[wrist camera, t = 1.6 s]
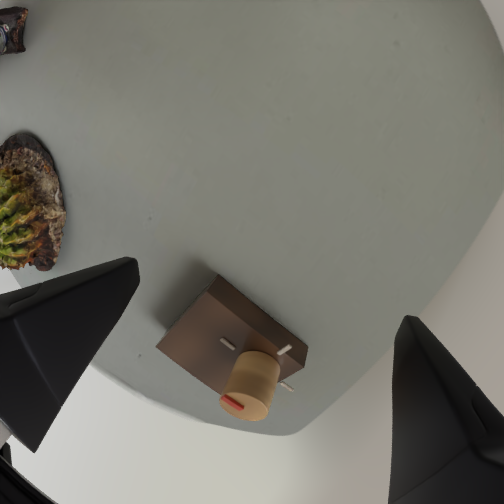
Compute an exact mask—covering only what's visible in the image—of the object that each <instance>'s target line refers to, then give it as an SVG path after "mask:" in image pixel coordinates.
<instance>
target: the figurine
mask: <svg viewBox="0 0 504 504" xmlns="http://www.w3.org/2000/svg"><path fill="white" fill-rule="evenodd" d="M27 14H28V10H27V9H26V8H22V7H11V8H4V9H0V55H4V54H14V53H16V54H18V53H21V52H24V51H25V49H26V48H24V46H23V42H22V31H23V25H24V22H25V19H26V16H27Z"/></svg>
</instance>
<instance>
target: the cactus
mask: <svg viewBox="0 0 504 504" xmlns="http://www.w3.org/2000/svg"><path fill="white" fill-rule="evenodd" d="M53 166H54V163H53V161H52V159H51V157H50V155H49V153H47V152H46V151H45V150H44V149H43V148H42V146H41V145H40V144H39V142H38V141H36V140H35V139H34V138H33V137H31V136H28V135H25V134H16V135H14V136H11V137H10V138H9V139H7V140H6V141H5V143H4V144H3V145H2V146H0V266H1V267H2V269H4V268H5V267H7V268H8V269H10V270H12V269H17V270H19V268H20V267H23V268H24V266H25V264H26V263H29V266H32V265H35V266H36V268H37V269H38V270H39V271H48V270H50V269H51V268H52V267H53V266H54V265H55V263H56V261H57V257H58V254H59V250H60V244H61V238H62V236H63V235H64V234H63V232H62V230H61V229H62V228H63V227H64V223H65V220H66V217H65V216H66V211H65V209H64V207H63V201H62V192H61V189H60V187H59V181H58V176H57V175H56V173H55V171H54V169H53Z"/></svg>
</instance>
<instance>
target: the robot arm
mask: <svg viewBox="0 0 504 504" xmlns="http://www.w3.org/2000/svg"><path fill="white" fill-rule="evenodd" d="M139 283H140V275H139V268H138V262H137V260H136V259H135V258H131V257H123V258H119V259H116V260H112V261H109V262H106V263H102V264H99V265H96V266H92V267H89V268H86V269H83V270H79V271H76V272H73V273H70V274H67V275H63V276H60V277H57V278H54V279H51V280H48V281H44V282H43V283H38V284H35V285H32V286H28V287H25V288H22V289H18V290H15V291H11V292H8V293H4V294H0V504H58V503H56V502H55V501H53V500H52V499H51V498H49V497H48V496H47V495H46V494H44V493H43V492H42V491H40V490H39V489H38V488H37V487H35V486H34V485H33V484H32V483H31V482H29V481H28V480H27V479H26V478H25V477H24V476H22V475H21V474H20V473H19V472H18V471H17V470H16V469H15V468H13V467H12V461H11V451H10V445H9V444H8V443H7V442H6V440H8V438H9V437H10V436H11V434H12V435H13V436H14V437H15V438H17V439H18V440H19V441H20V442H21V443H22V444H23V445H25V446H26V447H27V448H28V449H29V450H30V451H32V452H33V453H35V452H36V451H37V449H38V447H39V445H40V444H41V442H42V440H43V438H44V436H45V435H46V433H47V431H48V430H49V428H50V426H51V424H52V423H53V421H54V419H55V418H56V416H57V414H58V413H59V411H60V409H61V406H63V404H64V402H65V401H66V399H67V398H68V396H69V394H70V393H71V391H72V389H73V388H74V386H75V385H76V383H77V382H78V380H79V379H80V377H81V375H82V374H83V372H84V371H85V369H86V367H87V366H88V365H89V363H90V362H91V360H92V359H93V357H94V355H95V354H96V352H97V351H98V350H99V348H100V347H101V345H102V344H103V342H104V341H105V339H106V338H107V336H108V335H109V333H110V332H111V330H112V329H113V328H114V326H115V325H116V323H117V322H118V320H119V319H120V317H121V316H122V314H123V312H124V310H125V309H126V307H127V305H128V303H129V301H130V300H131V298H132V296H133V294H134V293H135V291H136V289H137V287H138V286H139ZM392 404H393V406H392V409H393V425H392V426H393V427H392V429H393V430H392V458H391V475H390V487H389V498H388V504H504V416H503V415H502V414H501V413H500V412H499V411H498V410H497V409H496V407H495V406H494V405H493V404H492V403H491V402H490V400H489V399H488V398H487V397H486V396H485V394H484V393H483V392H482V391H481V389H480V388H479V387H478V386H476V383H475V382H474V381H473V380H472V378H471V377H470V376H469V375H468V374H467V372H466V371H465V370H464V369H463V368H462V367H461V365H460V364H459V363H458V362H457V361H456V359H455V358H454V357H453V356H452V355H451V354H450V352H449V351H448V350H447V349H446V348H445V347H444V346H443V344H442V343H441V342H440V341H439V340H438V339H437V338H436V337H435V336H434V334H433V333H432V332H431V331H430V330H429V329H428V328H427V327H426V326H425V324H424V323H423V322H422V321H421V320H420V319H419V318H418V317H416V316H410V315H406V316H405V317H404V318H403V320H402V323H401V325H400V327H399V329H398V332H397V334H396V337H395V342H394V361H393V375H392Z"/></svg>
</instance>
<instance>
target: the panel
mask: <svg viewBox="0 0 504 504" xmlns="http://www.w3.org/2000/svg"><path fill="white" fill-rule="evenodd" d="M156 348H158V349H159V350H160V351H161V352H163V353H164V354H165V355H167V356H168V357H169V358H170V359H172V360H173V361H174V362H176V363H177V364H178V365H180V366H181V367H182V368H184V369H185V370H186V371H188V372H189V373H190V374H192V375H193V376H194V377H196V378H197V379H199V380H200V381H201V382H203V383H204V384H206V385H207V386H208V387H210V388H211V389H213V390H214V391H216V392H217V393H219V394H220V395H221V394H222V392H223V390H224V387H225V385H226V383H227V381H228V378H229V376H230V374H231V372H232V370H233V367H234V365H235V363H236V361H237V358H238V357H239V355H241V354H242V353H244V352H247V351H259V352H263V353H265V354H268V355H270V356H271V357H273V358H274V359H275V360H276V361H277V362H278V364H279V366H280V375H279V378H278V382H280V381H281V380H283V379H285V378H287V377H288V376H290V375H292V374H294V373H295V372H297V371H299V370H301V369H302V368H304V366H305V361H306V356H307V351H308V346H306V345H305V344H304V343H303V342H301V341H300V340H299V339H297V338H296V337H295V336H294V335H292V334H291V333H290V332H289V331H287V330H286V329H285V328H284V327H282V326H281V325H280V324H279V323H277V322H276V321H275V320H273V319H272V318H271V317H270V316H268V315H267V314H266V313H265V312H264V311H262V310H261V309H260V308H259V307H257V306H256V305H255V304H254V303H252V302H251V301H250V300H249V299H248V298H246V297H245V296H244V295H243V294H241V293H240V292H239V291H238V290H237V289H235V288H234V287H233V286H232V285H230V284H229V283H228V282H227V281H226V280H224V279H223V278H222V277H221V276H220V275H217V277H216V278H215V279H214V280H213V281H212V282H211V283H210V284H209V285H208V286H207V287H206V289H205V290H204V291H203V292H202V293H201V294H200V295H199V296H198V297H197V298H196V300H195V301H194V302H193V303H192V304H191V305H190V306H189V307H188V308H187V309H186V310H185V312H184V313H183V314H182V315H181V316H180V317H179V318H178V319H177V320H176V321H175V323H174V324H173V325H172V326H171V327H170V328H169V329H168V330H167V332H166V333H165V334H164V336H163V337H162V338H161V340H160V341H159V342H158V344H157V345H156ZM278 382H277V383H278ZM280 385H282V386H283V387H285V388H286V389H288V390H289V391H291V392H292V391H293V390H294V389H293V388H292V387H290V386H289V385H287V384H286V383H284V382H283V381H282V382H280Z"/></svg>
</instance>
